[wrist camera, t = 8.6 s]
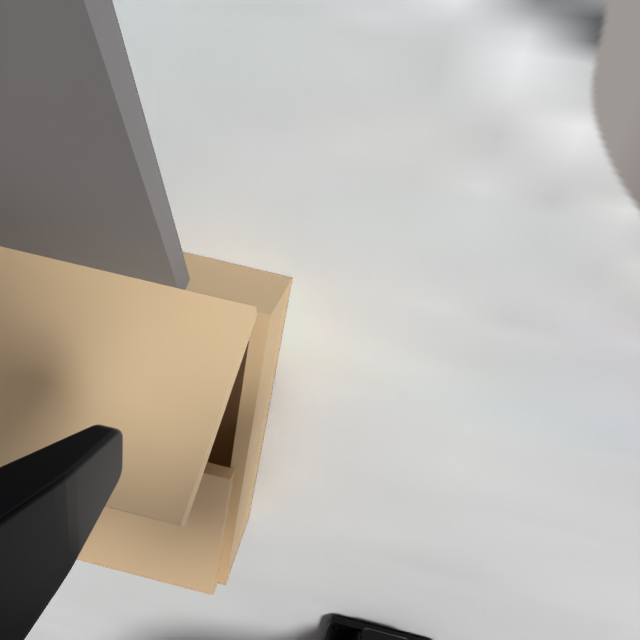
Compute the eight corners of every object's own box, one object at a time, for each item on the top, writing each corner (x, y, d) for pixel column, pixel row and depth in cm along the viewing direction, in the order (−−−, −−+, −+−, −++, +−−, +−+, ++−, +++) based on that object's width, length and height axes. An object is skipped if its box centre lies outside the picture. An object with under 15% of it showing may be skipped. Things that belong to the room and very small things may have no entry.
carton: (249, 517, 25) (221, 597, 21) (-65, 437, 26) (-152, 499, 22) (292, 277, 19) (266, 322, 15) (-115, 182, 20) (-247, 200, 16)
